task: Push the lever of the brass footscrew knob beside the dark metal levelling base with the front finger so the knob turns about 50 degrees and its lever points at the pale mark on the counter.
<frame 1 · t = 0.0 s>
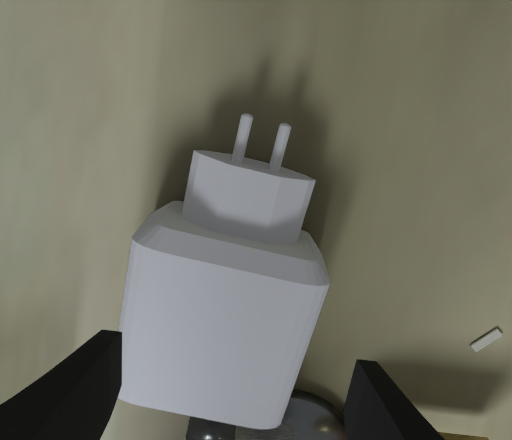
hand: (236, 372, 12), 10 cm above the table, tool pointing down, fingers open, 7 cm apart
levelling base: (283, 438, 27), on the table
charger: (233, 247, 22), on the table
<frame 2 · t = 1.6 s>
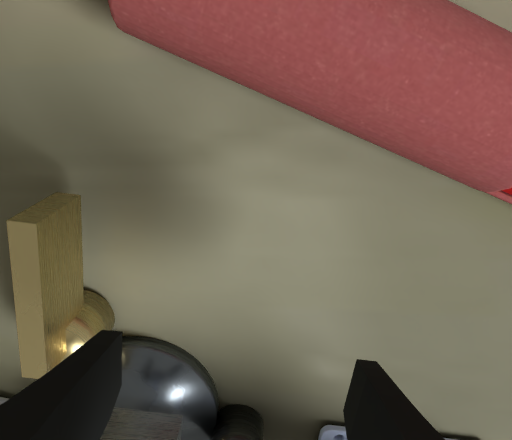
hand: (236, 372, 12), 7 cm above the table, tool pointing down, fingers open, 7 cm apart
levelling base: (142, 399, 22), on the table
brass knob: (60, 294, 17), point 2 cm above the table, hinge at 0.0°
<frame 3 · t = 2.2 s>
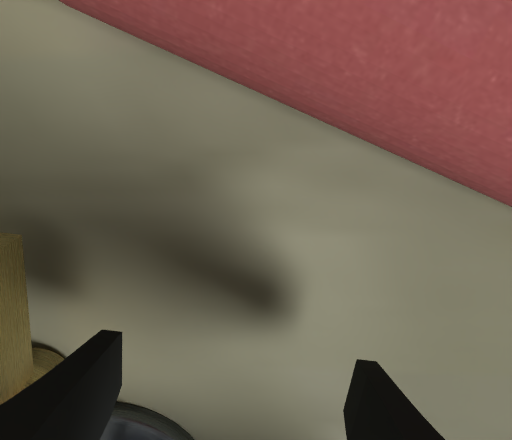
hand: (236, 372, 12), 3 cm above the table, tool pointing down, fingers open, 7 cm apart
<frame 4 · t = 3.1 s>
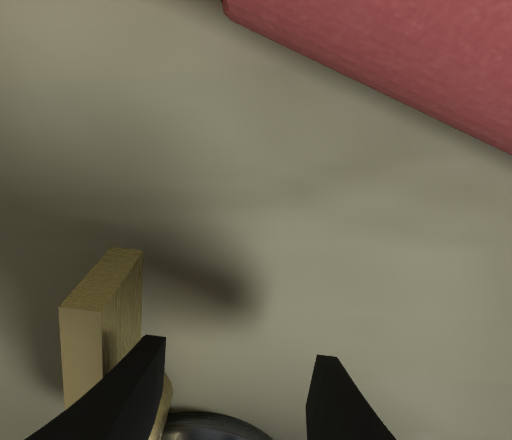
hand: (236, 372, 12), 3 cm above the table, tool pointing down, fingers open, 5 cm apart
brass knob: (115, 379, 13), point 2 cm above the table, hinge at 0.1°, touching gripper
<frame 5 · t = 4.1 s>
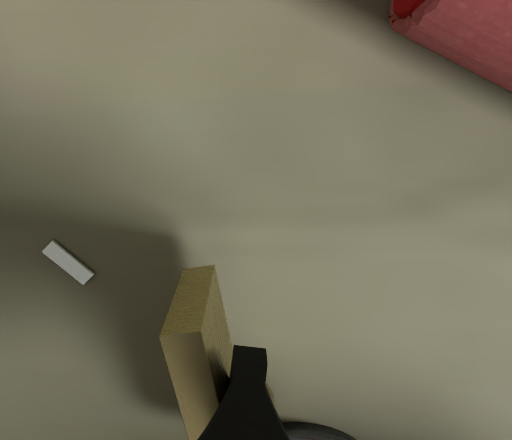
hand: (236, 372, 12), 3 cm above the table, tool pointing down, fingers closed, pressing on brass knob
brass knob: (220, 395, 13), point 2 cm above the table, hinge at 15.7°, touching gripper
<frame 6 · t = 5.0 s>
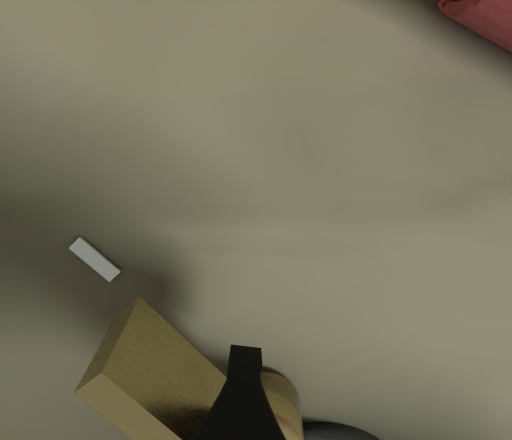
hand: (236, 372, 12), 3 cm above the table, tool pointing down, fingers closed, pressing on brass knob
brass knob: (211, 408, 13), point 3 cm above the table, hinge at 46.4°, touching gripper
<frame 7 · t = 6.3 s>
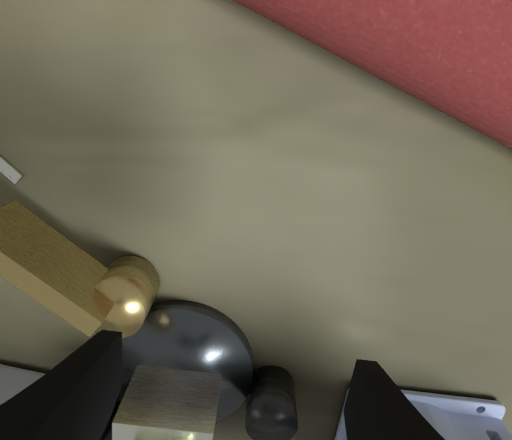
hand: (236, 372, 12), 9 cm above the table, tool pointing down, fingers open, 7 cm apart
levelling base: (182, 361, 24), on the table
brass knob: (72, 271, 19), point 3 cm above the table, hinge at 55.0°
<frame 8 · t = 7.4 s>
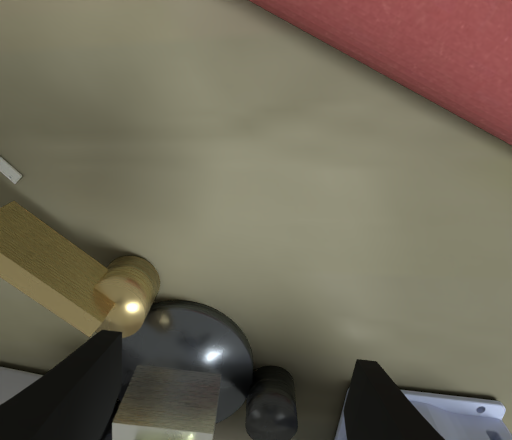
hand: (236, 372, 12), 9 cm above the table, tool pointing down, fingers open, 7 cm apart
levelling base: (182, 361, 24), on the table
brass knob: (72, 271, 19), point 3 cm above the table, hinge at 55.4°
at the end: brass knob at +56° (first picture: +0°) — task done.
